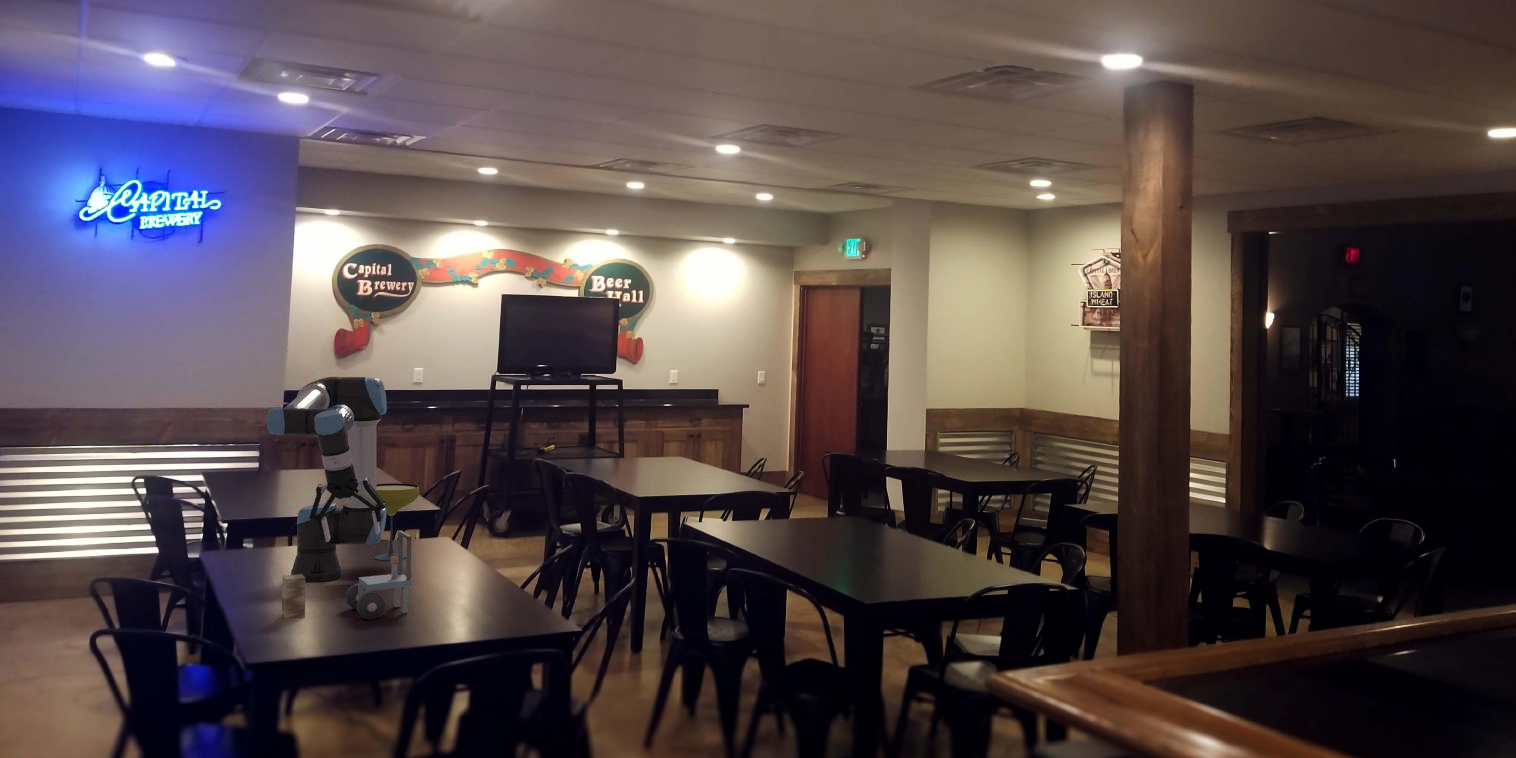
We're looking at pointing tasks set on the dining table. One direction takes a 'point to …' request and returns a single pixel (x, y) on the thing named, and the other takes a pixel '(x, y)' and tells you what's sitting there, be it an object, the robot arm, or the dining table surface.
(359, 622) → the dining table surface
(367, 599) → the trolley
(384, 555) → the cocktail glass
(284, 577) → the block
